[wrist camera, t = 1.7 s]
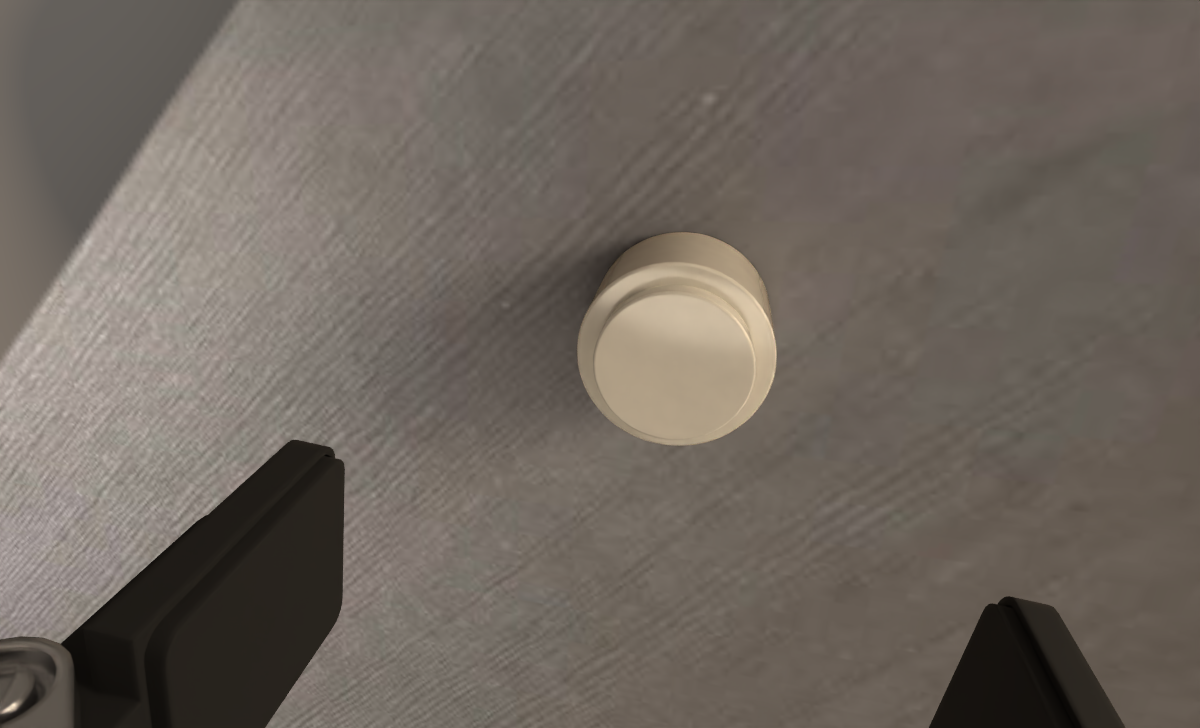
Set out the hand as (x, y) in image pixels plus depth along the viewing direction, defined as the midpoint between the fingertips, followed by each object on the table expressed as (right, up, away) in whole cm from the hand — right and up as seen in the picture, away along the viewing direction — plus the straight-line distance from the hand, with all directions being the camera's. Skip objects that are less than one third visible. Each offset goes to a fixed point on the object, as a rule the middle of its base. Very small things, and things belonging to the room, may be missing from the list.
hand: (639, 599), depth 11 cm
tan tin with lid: (+2, +5, +10) cm, 11 cm away
